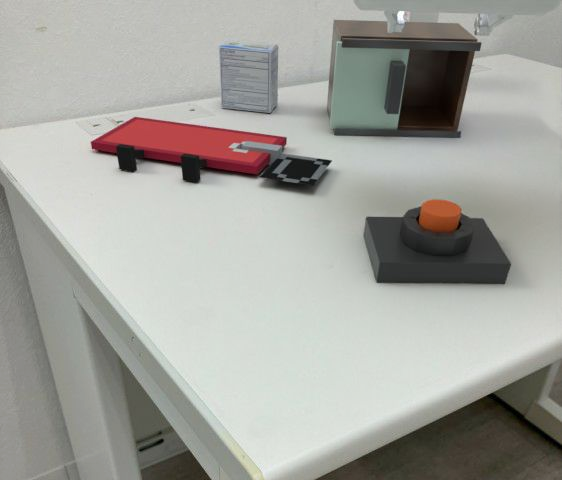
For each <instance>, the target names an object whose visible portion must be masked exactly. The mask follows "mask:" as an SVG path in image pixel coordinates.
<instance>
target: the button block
mask: <svg viewBox="0 0 562 480" xmlns="http://www.w3.org/2000/svg"><path fill="white" fill-rule="evenodd" d="M421 207H422V205H421V206H418V207H414V208H410V209H408V210H407V211H406V212H405V213H404V214H403V216H365V221H364V227H363V228H364V229H363V239H364V243H365V247H366V250H367V254H368V257H369V261H370V265H371V268H372V272H373V276H374V278H375V283H377V284H447V285H448V284H449V285H451V284H453V285H455V284H456V285H457V284H458V285H459V284H460V285H463V284H464V285H465V284H466V285H467V284H468V285H505V284H506V282H507V279H508V276H509V273H510V269H511V266H512V262H511V261H510V260H509V257H508V256H507V255H506V253H505V252H504V250H503V248H502V246H501V245H500V244H499V241H498V240H497V238H496V237H495V235H494V233H493V232H492V231H491V228H490V227H489V225H488V224H487V223H486V221H485V219H484V218H483V217H470V216H468V215H466V214H465V213H463V212H461V215H460V219H459V223H458V227H457V230H456V231H452V232H436V231H432V230H428V229H425V228H423V227H422V226H420V225H419V217H420V212H421Z"/></svg>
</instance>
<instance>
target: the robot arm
mask: <svg viewBox="0 0 562 480" xmlns="http://www.w3.org/2000/svg"><path fill="white" fill-rule="evenodd" d="M352 2H353V3H354V5H355V6H356V7H357V8H358V9H359V10H361V11H373V12H374V11H377V12H378V11H380V12H383V14H384V16H385V17H386V21H387V32H388V33H402V29H403V28H404V25H405V18H404V15H405V11H407V12H439V14H440V13H443V14H444V13H445V14H471V15H472V14H475V15H476V14H477V17H476V18H475V20H474V25H473V26H474V29H475V30H474V36H479V37H480V36H482V37H489V36H490V35H491V33H492V32H493V30H494V28H496V27H499V26H500V25H502V24H504V23H505V22H507V21H509V20H510V19H512V18H513V17H514V16H536V17H537V16H539V17H541V16H546V15H548V14H549V13H551V12H553V11H555V10H556V9H557V8H558V7H559V6H560V4H561V3H562V0H353V1H352Z"/></svg>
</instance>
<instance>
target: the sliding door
mask: <svg viewBox="0 0 562 480" xmlns="http://www.w3.org/2000/svg"><path fill="white" fill-rule="evenodd" d="M341 46H342V42H340V41H337V45H336V58H335V70H334V82H333V94H332V106H331V118H330V117H329V120H330V121H329V129H331V130H333V129H334V128H342V129H390V130H397V127H398V121H399V114H400V108H401V101H402V95H403V89H404V82H405V76H406V69H407V63H408V56H409V50H410V49H377V48H342V47H341Z"/></svg>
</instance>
